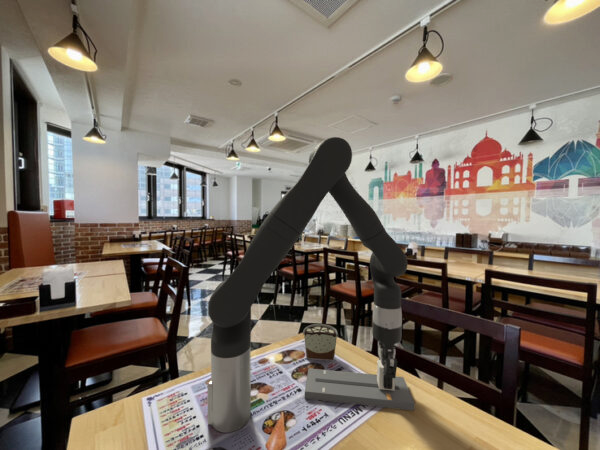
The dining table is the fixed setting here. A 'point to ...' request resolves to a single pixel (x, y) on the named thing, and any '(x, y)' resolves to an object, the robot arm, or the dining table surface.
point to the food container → (320, 341)
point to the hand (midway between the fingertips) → (385, 381)
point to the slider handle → (380, 376)
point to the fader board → (356, 389)
